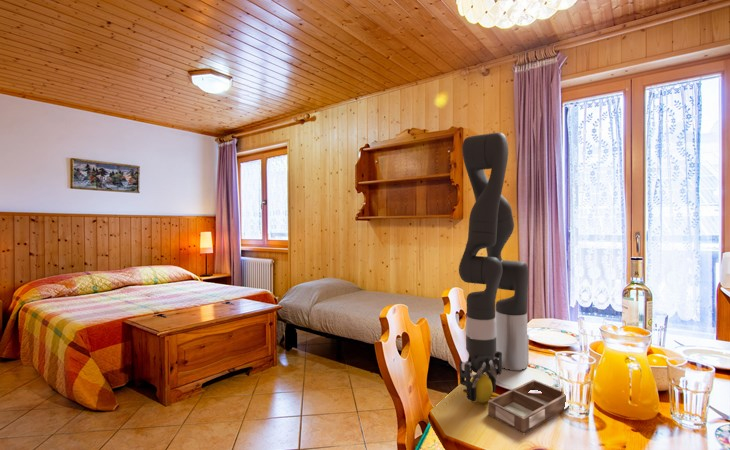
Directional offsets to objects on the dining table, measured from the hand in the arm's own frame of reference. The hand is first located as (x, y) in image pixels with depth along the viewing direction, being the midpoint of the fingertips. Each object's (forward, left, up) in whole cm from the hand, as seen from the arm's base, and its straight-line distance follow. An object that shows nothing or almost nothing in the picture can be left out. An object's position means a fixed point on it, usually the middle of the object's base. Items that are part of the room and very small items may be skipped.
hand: (481, 395), depth 98 cm
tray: (-6, +9, -2) cm, 11 cm away
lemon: (0, 0, -2) cm, 2 cm away
